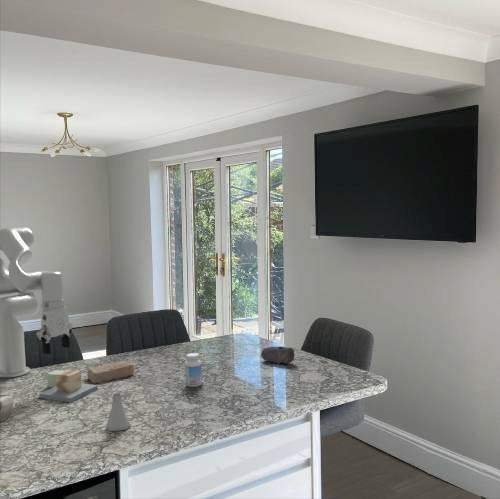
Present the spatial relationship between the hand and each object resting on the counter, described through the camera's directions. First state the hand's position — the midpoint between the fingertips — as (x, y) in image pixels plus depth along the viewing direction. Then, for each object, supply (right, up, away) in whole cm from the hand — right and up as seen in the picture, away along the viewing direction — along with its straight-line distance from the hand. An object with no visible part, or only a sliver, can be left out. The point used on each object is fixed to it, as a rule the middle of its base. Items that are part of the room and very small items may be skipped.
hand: (56, 350), depth 200 cm
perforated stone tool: (+83, -10, +23) cm, 87 cm away
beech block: (+8, -12, -8) cm, 17 cm away
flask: (+33, -16, -40) cm, 54 cm away
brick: (+18, -13, +10) cm, 24 cm away
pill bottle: (+52, -12, -3) cm, 53 cm away
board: (+8, -14, -9) cm, 18 cm away
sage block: (0, -14, +1) cm, 14 cm away
